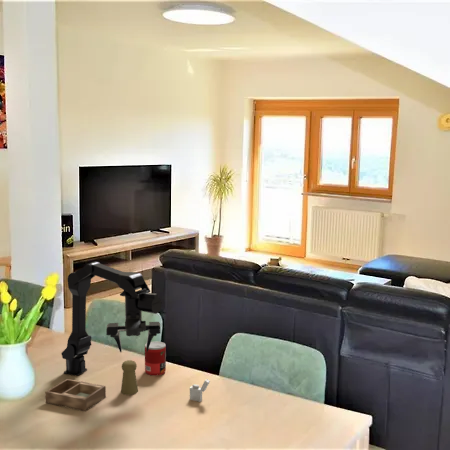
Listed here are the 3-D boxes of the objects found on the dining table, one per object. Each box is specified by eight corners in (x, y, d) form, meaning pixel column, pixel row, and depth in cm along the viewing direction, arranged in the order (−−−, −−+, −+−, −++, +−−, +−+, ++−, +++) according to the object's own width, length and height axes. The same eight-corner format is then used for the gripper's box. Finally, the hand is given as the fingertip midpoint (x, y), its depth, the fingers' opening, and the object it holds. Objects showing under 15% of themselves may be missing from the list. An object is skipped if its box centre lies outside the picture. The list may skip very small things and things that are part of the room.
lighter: (189, 399, 211) (189, 377, 210) (191, 397, 213) (191, 375, 212) (207, 403, 208) (208, 381, 207) (210, 401, 210) (210, 379, 209)
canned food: (164, 376, 231) (164, 348, 230) (143, 375, 231) (143, 347, 230) (166, 368, 239) (166, 341, 237) (146, 368, 239) (146, 340, 237)
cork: (134, 395, 214) (134, 365, 213) (118, 393, 215) (117, 363, 214) (140, 388, 220) (140, 359, 218) (124, 386, 221) (124, 357, 220)
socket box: (45, 402, 208) (45, 391, 207) (67, 389, 219) (67, 378, 218) (85, 411, 202) (85, 399, 201) (105, 397, 213) (105, 386, 212)
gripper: (104, 316, 207) (105, 361, 209) (160, 315, 209) (160, 358, 212) (107, 307, 218) (107, 349, 220) (159, 306, 220) (160, 347, 223)
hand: (134, 351), depth 218 cm, fingers open, 9 cm apart
